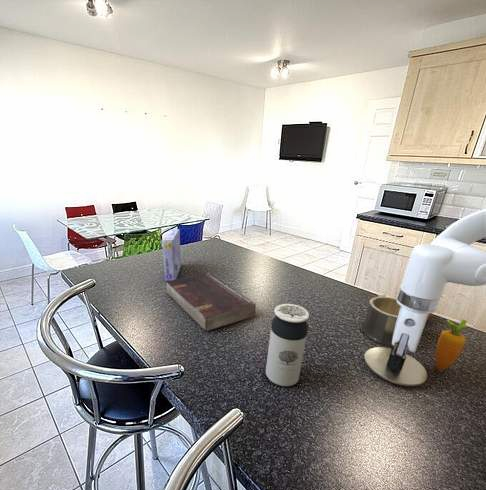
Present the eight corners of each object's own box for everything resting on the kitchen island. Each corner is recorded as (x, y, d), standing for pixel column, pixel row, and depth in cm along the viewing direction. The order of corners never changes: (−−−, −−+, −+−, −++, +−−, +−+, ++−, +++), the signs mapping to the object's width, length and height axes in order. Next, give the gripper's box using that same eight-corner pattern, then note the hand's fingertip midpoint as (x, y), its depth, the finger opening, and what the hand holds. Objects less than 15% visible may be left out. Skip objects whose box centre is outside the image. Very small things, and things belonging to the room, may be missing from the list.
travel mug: (269, 360, 76) (276, 300, 69) (300, 369, 74) (311, 307, 66) (262, 381, 69) (270, 316, 62) (296, 391, 67) (309, 324, 60)
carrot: (432, 375, 73) (453, 324, 67) (424, 362, 77) (443, 313, 71) (455, 379, 72) (479, 327, 66) (445, 365, 76) (466, 316, 70)
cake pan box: (171, 264, 137) (170, 227, 130) (181, 264, 137) (181, 227, 130) (163, 281, 119) (161, 240, 112) (175, 282, 119) (174, 240, 112)
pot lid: (409, 353, 79) (416, 334, 76) (437, 391, 66) (447, 370, 64) (356, 348, 80) (361, 329, 78) (375, 384, 68) (381, 363, 66)
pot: (394, 319, 96) (402, 294, 92) (423, 355, 80) (435, 325, 76) (354, 316, 98) (361, 291, 94) (375, 350, 81) (383, 321, 77)
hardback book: (254, 315, 97) (256, 302, 95) (206, 332, 87) (206, 317, 85) (209, 283, 119) (209, 271, 117) (166, 293, 110) (166, 281, 108)
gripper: (435, 320, 58) (408, 390, 65) (439, 291, 69) (415, 354, 77) (392, 308, 62) (371, 375, 69) (402, 283, 74) (383, 343, 81)
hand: (395, 363), depth 73 cm, fingers closed on pot lid, 2 cm apart
